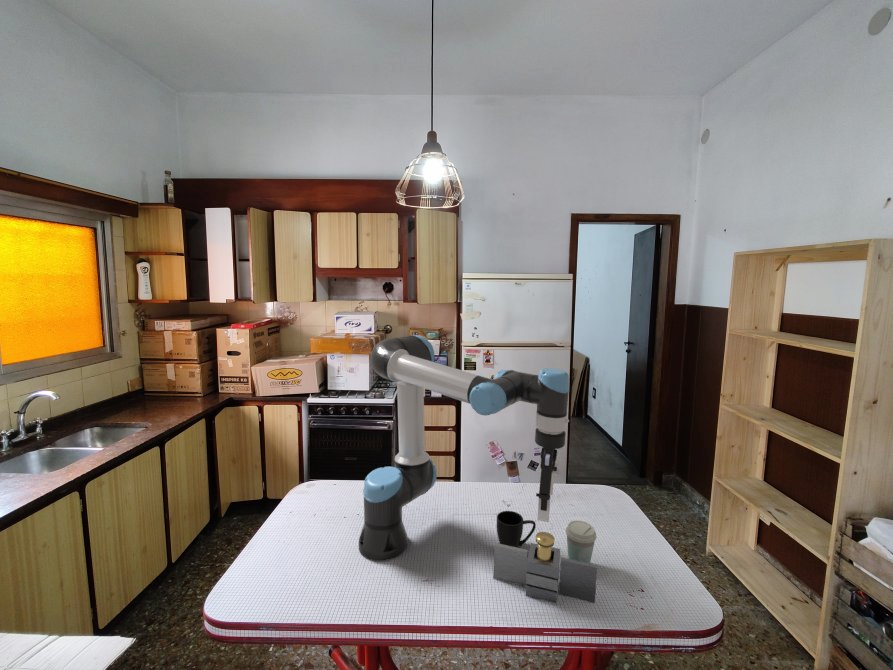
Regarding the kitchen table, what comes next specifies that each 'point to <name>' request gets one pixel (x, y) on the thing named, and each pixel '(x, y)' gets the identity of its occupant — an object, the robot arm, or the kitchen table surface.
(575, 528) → the coffee cup
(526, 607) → the kitchen table surface
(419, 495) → the robot arm
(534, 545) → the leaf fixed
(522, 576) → the grey piece
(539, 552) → the pin
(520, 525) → the mug
